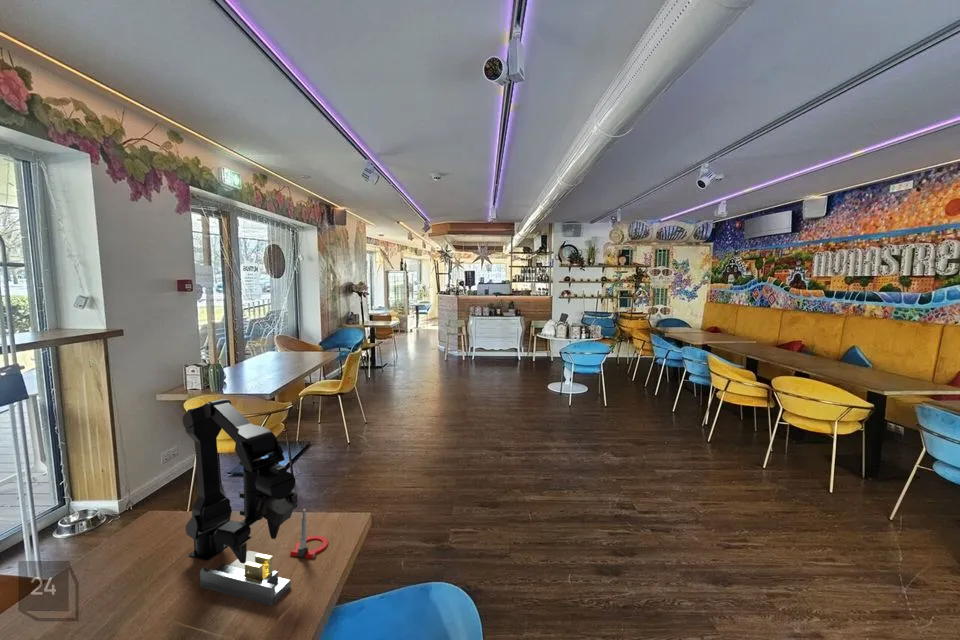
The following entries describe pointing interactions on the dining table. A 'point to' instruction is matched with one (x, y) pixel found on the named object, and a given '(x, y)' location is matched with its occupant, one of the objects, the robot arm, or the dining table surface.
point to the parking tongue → (249, 557)
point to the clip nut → (259, 567)
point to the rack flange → (244, 584)
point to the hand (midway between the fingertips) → (259, 550)
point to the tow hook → (301, 547)
